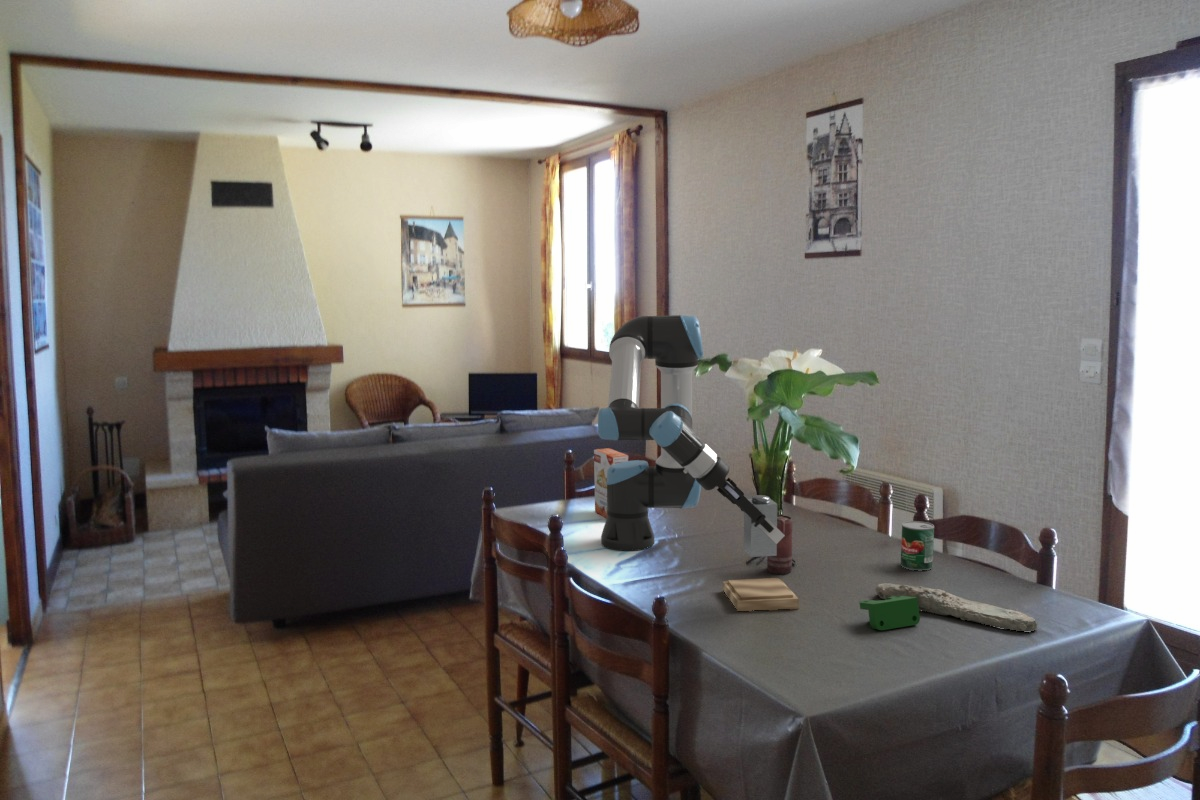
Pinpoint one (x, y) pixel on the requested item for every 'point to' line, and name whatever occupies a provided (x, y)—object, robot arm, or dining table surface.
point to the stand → (760, 594)
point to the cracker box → (604, 475)
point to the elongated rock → (959, 607)
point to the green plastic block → (892, 612)
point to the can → (782, 548)
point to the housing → (755, 536)
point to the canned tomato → (917, 545)
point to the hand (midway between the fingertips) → (775, 535)
